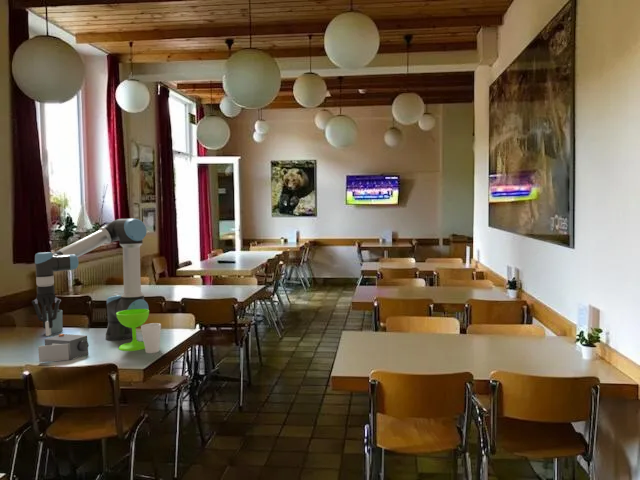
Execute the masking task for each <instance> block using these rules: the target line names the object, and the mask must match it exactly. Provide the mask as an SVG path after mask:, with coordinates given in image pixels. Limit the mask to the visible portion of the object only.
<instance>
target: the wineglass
mask: <svg viewBox="0 0 640 480" xmlns="http://www.w3.org/2000/svg"><path fill="white" fill-rule="evenodd" d="M116 315H117V319H118V320H119V322H120V323H121V324H122V325H124V326H125V327H129V328H132V337H131V338H132V340H131V342H125V343H123V344H121V345H119V347H118V350H119V351H122V352H136V351H142V350H145V345H144V340H141V341H140V340H138V338H137V328H139V327H141V326H142V325H144V324H146V322H147V320H148V318H149V315H150V310H149V309H130V310H124V311H120V312H117V313H116Z"/></svg>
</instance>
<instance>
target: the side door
mask: <svg viewBox="0 0 640 480" xmlns="http://www.w3.org/2000/svg"><path fill="white" fill-rule="evenodd" d="M37 348H38V360H39V361H38V362H39V363H46V362H55V361H56V362H57V361H67V360H68V361H69V360H70V359H71V351H70V343H68V344H57V345H45V344H44V345H38V347H37ZM70 361H71V360H70Z"/></svg>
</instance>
